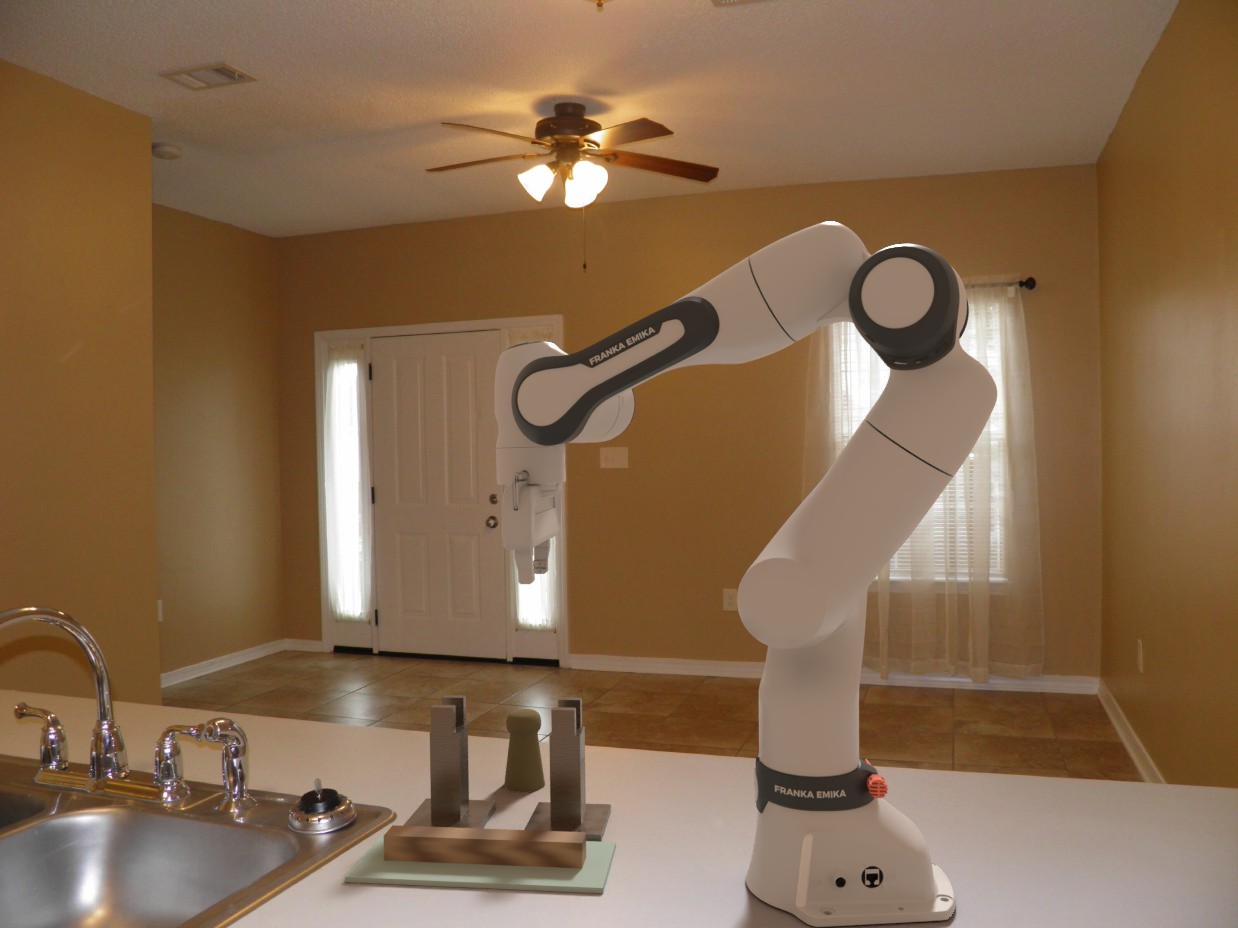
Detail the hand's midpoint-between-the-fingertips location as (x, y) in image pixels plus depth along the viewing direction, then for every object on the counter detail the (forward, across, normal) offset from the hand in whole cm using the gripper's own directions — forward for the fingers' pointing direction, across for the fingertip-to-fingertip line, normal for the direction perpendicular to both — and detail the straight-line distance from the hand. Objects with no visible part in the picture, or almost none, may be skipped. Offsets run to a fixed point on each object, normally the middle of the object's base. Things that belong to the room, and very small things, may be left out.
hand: (534, 578), depth 118 cm
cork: (+33, +17, +6) cm, 38 cm away
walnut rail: (+32, -9, +5) cm, 34 cm away
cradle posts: (+33, +3, +5) cm, 33 cm away
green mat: (+33, -9, +5) cm, 35 cm away
